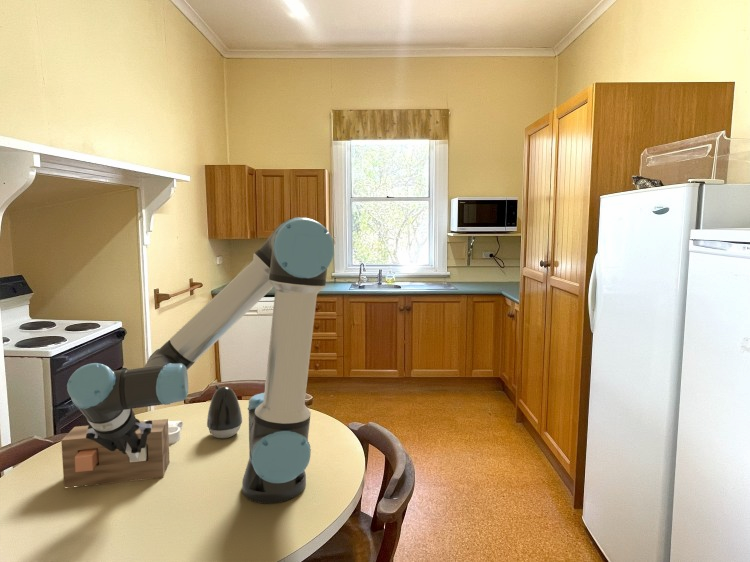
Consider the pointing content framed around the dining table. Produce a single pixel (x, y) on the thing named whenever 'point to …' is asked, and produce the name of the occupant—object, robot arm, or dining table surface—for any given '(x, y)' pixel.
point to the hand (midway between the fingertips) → (136, 455)
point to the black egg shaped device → (224, 413)
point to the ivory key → (143, 454)
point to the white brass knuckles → (174, 431)
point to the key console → (115, 458)
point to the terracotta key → (86, 460)
